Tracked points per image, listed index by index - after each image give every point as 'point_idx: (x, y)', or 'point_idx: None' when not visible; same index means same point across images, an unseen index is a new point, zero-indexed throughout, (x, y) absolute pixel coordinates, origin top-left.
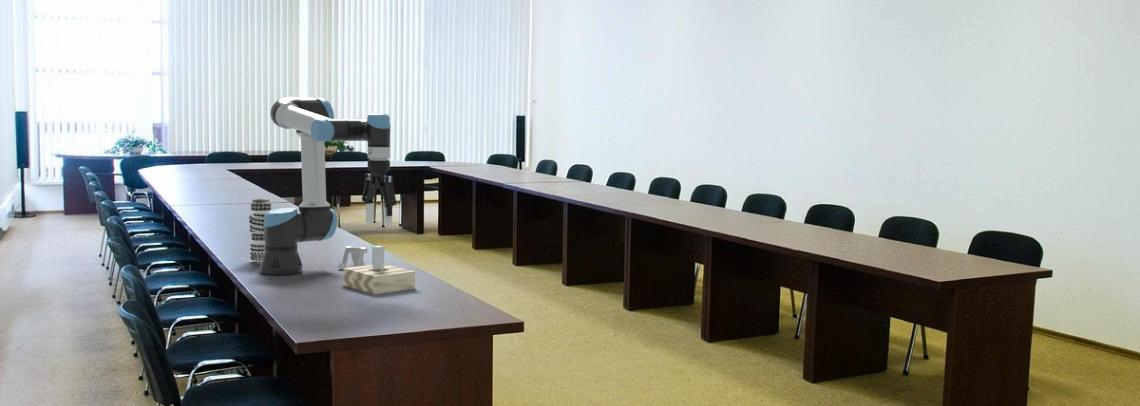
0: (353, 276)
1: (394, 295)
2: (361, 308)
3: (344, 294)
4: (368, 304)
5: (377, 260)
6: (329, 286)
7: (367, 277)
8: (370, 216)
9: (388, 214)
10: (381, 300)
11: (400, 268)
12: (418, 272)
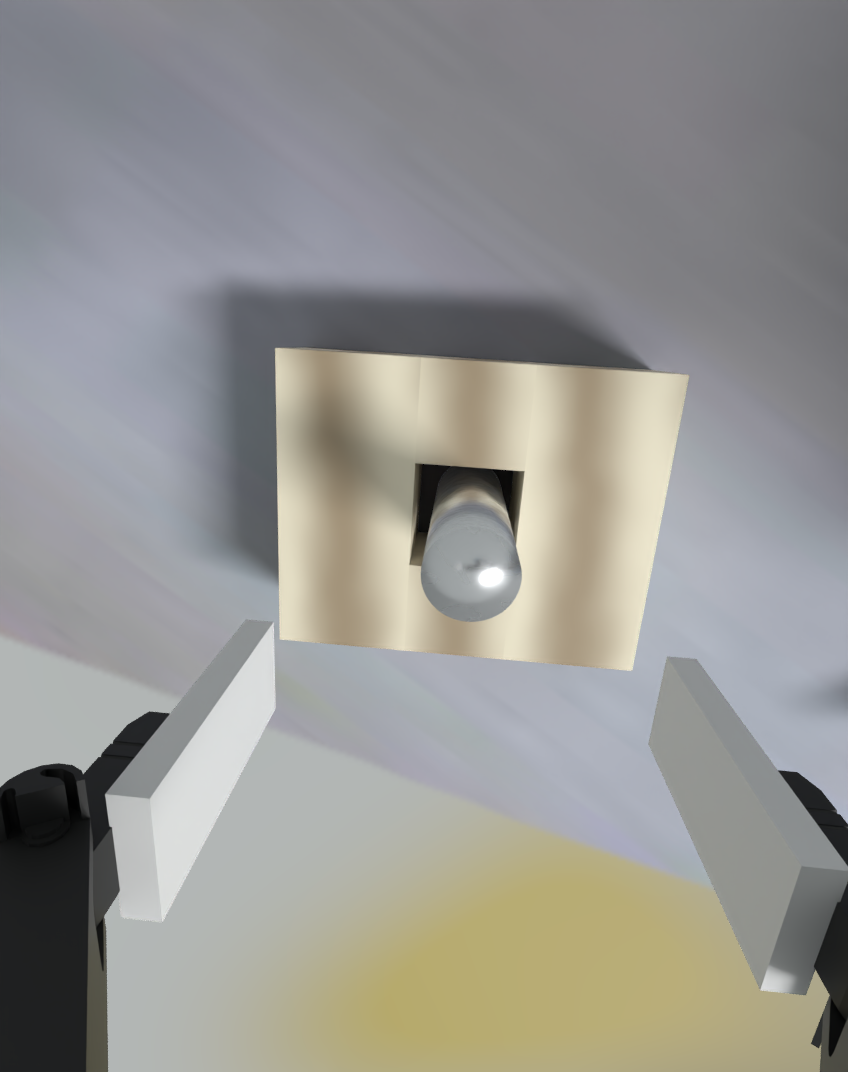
0: (541, 364)
1: (219, 412)
2: (3, 28)
3: (417, 205)
4: (83, 138)
5: (441, 511)
6: (691, 285)
7: (367, 353)
8: (685, 751)
9: (131, 729)
10: (142, 271)
11: (413, 639)
12: (640, 859)
